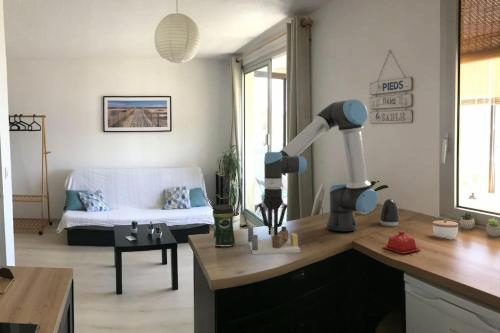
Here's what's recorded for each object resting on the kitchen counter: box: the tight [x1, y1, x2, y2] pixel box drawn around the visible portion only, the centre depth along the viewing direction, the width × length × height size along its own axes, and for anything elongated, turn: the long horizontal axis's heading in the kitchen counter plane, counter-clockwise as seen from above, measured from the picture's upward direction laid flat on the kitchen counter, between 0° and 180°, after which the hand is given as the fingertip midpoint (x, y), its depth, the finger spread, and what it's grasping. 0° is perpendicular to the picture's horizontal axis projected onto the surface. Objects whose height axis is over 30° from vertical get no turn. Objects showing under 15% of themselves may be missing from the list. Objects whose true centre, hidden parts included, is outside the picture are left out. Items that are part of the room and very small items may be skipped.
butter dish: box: [382, 230, 421, 254], centre depth 162 cm, size 12×12×8 cm
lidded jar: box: [432, 218, 459, 241], centre depth 179 cm, size 11×11×9 cm
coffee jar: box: [212, 204, 236, 246], centre depth 173 cm, size 10×8×19 cm
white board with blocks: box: [247, 227, 301, 255], centre depth 168 cm, size 20×18×8 cm
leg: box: [272, 226, 289, 248], centre depth 168 cm, size 14×3×6 cm, turn 159°
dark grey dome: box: [379, 198, 401, 227], centre depth 207 cm, size 10×10×15 cm
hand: (273, 242), depth 166 cm, fingers closed
